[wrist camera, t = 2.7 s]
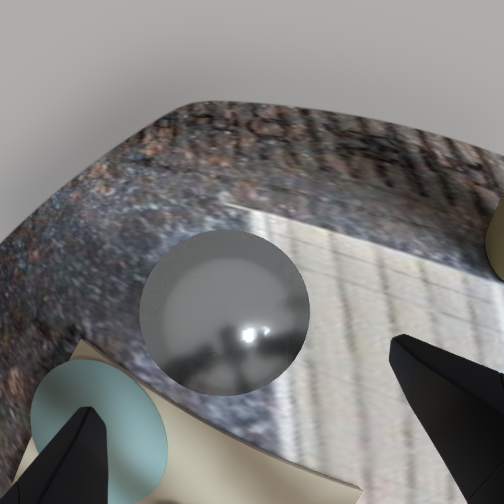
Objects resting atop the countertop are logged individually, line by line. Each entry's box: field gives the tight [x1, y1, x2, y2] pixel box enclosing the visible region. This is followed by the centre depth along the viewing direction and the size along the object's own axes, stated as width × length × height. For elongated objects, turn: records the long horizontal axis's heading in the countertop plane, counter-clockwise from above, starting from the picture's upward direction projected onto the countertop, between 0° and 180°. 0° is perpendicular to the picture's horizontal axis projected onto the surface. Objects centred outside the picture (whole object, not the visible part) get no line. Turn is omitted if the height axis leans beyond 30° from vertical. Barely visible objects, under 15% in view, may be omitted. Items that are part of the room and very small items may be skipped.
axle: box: [139, 230, 310, 396], centre depth 14 cm, size 5×5×11 cm
